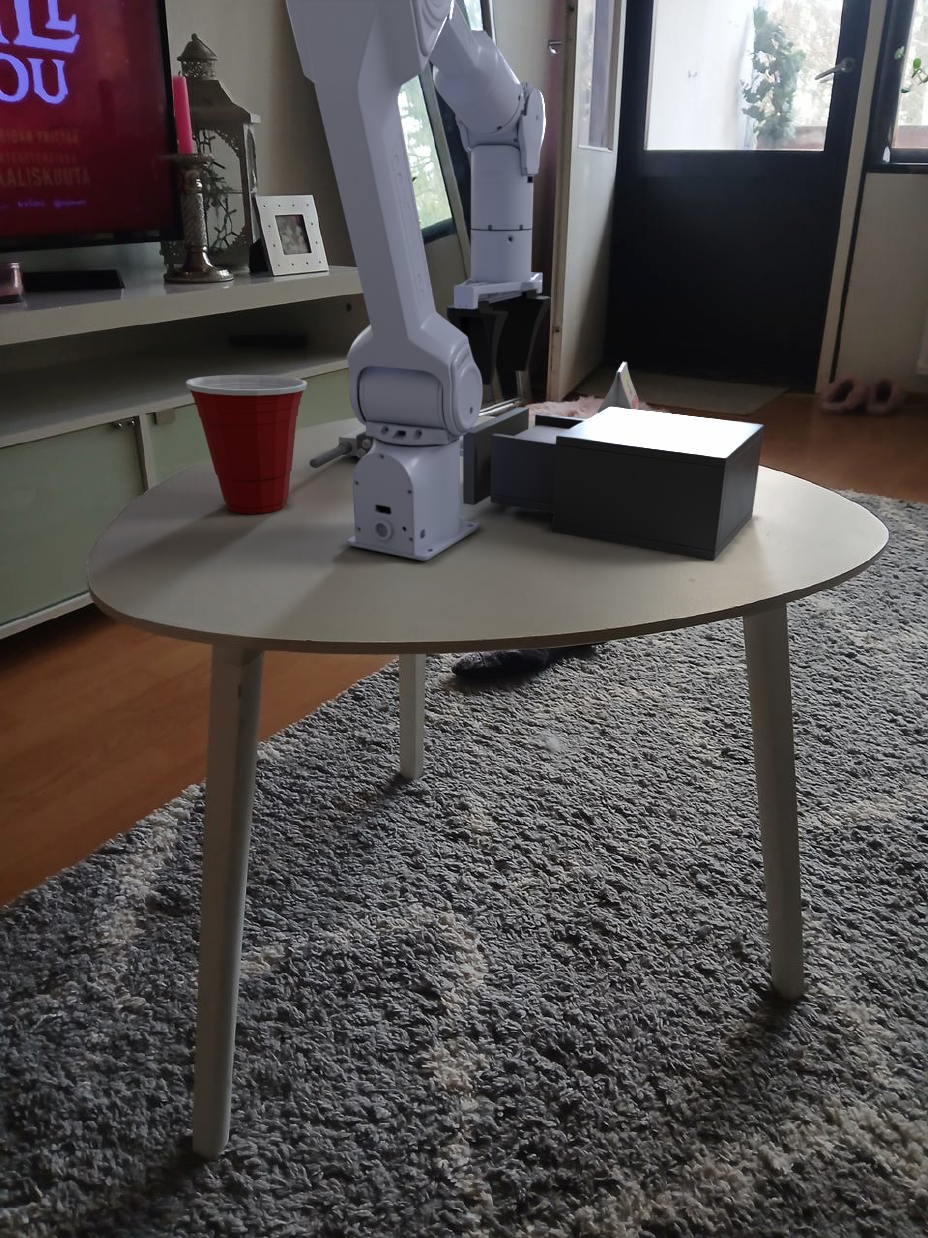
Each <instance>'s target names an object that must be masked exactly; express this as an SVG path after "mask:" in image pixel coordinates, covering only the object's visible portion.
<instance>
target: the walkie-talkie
mask: <svg viewBox="0 0 928 1238" xmlns="http://www.w3.org/2000/svg"><path fill="white" fill-rule="evenodd" d="M373 440H374V437H371V436H367V435H366V427H361V428H357V429H354V430H353V431H351V432H349V433H347V434H344V435H340V436H339V437H338V445H337V446H336V447H333V448H331V449H330V450H327V451H326V452H324V453H322V454H320V455H318V456H316V457H314V458H312V459H310V461H309V466H310V467H312V468H313V469H318V468H320V467H321V466H324V465H326V464H327V463H329V462H331V461H333V460H335V459H337V458H339V457H341V456H344V455H345V456H354V457H357V459H359V460H360V459H361V458H362V457H363V456H364V455H366V454H367V453H368V452H369V451H370V449H371V447H372V445H373Z"/></svg>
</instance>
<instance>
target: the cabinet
mask: <svg viewBox="0 0 928 1238" xmlns="http://www.w3.org/2000/svg"><path fill="white" fill-rule="evenodd" d="M586 419H587V420H585V421H583V422H581V423H579V424H578V425H576V426H574V427H572V428H570V429H568V430H566V431H564V432H562V433H561V434H559V435H557V436H556V450H555V474H554V498H553V513H552V523H551V531H552V532H556V533H560V534H567V535H572V536H577V537H582V538H589V539H594V540H599V541H605V542H611V543H616V544H621V545H627V546H632V547H633V546H634V547H638V548H643V549H650V550H654V551H661V552H665V553H671V554H677V555H682V556H688V557H694V558H700V559H705V560H711V561H715V560H717V558H718V557H719V555H721V554H722V552H723V551H724V550H725V549H726V548H727V546H728V545H729V544H731V542H732V540H733V539H734V538H735V537H736V536H737V535H738V534H739V533H740V531H741V530H742V529H743V528H744V527H745V526H746V525H747V523H748V522H749V521H750V520H751V519H752V517H753V512H754V505H755V497H756V491H757V482H758V477H759V468H760V461H761V453H762V445H763V437H764V432H765V431H764V430H765V425H764V424H759V423H751V422H743V421H733V420H726V419H725V420H724V419H716V418H707V417H698V416H691V415H683V414H675V413H674V414H672V413H665V412H664V413H663V412H656V411H647V410H639V409H638V410H631V409H622V408H613V407H609V408H608V409H606V410H604V411H602V412H600V413H598V412H597V413H596V414H594V415H592V416H591V417H589V418H586Z"/></svg>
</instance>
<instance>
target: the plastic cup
mask: <svg viewBox="0 0 928 1238" xmlns="http://www.w3.org/2000/svg"><path fill="white" fill-rule="evenodd" d="M185 386H186V388H187V389H188V390H190V393H191V395H192V398H193V401H194V406H196V409H197V413H198V417H199V418H200V421H201V424H202V425H201V426H202V428H203V432H204V435H205V436H204V437H205V439H206V444H207V447H208V450H209V454H210V458H211V462H212V465H213V469H214V473H215V475H216V476H217V480H218V484H219V487H220V490H221V495H222V498H223V501H224V503H225V505H226V508H227V509H229V510H230V511H231V512H234V513H238V514H247V515H248V514H250V515H253V514H266V513H270V512H275V511H278V510H280V509H283V508H284V507H286V506H287V504H288V499H289V495H290V481H291V472H292V470H293V469H292V468H293V461H294V460H293V459H294V448H295V436H296V427H297V419H298V416H299V408H300V405H301V399H302V397H303V393H304V391H305V390H307V386H308V381H306V380H303V379H300V378H294V377H287V376H279V375H278V376H277V375H263V374H262V375H261V374H229V375H227V374H225V375H209V376H199V377H195V378H190V379H187V380H186V381H185Z"/></svg>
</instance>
